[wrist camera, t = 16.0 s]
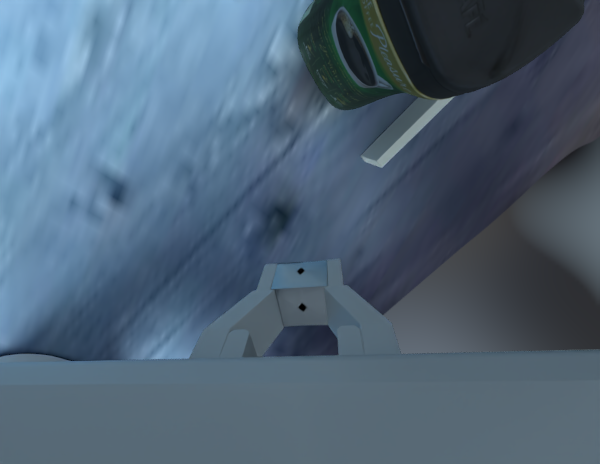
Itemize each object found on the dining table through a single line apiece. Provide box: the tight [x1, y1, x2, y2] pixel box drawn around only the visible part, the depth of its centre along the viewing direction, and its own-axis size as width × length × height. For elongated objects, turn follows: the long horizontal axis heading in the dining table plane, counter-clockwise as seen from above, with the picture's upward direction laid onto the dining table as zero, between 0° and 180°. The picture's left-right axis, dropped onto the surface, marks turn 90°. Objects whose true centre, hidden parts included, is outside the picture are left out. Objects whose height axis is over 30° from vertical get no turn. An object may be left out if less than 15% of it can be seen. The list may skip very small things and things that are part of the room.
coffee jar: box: [298, 0, 584, 110], centre depth 17 cm, size 10×8×19 cm
